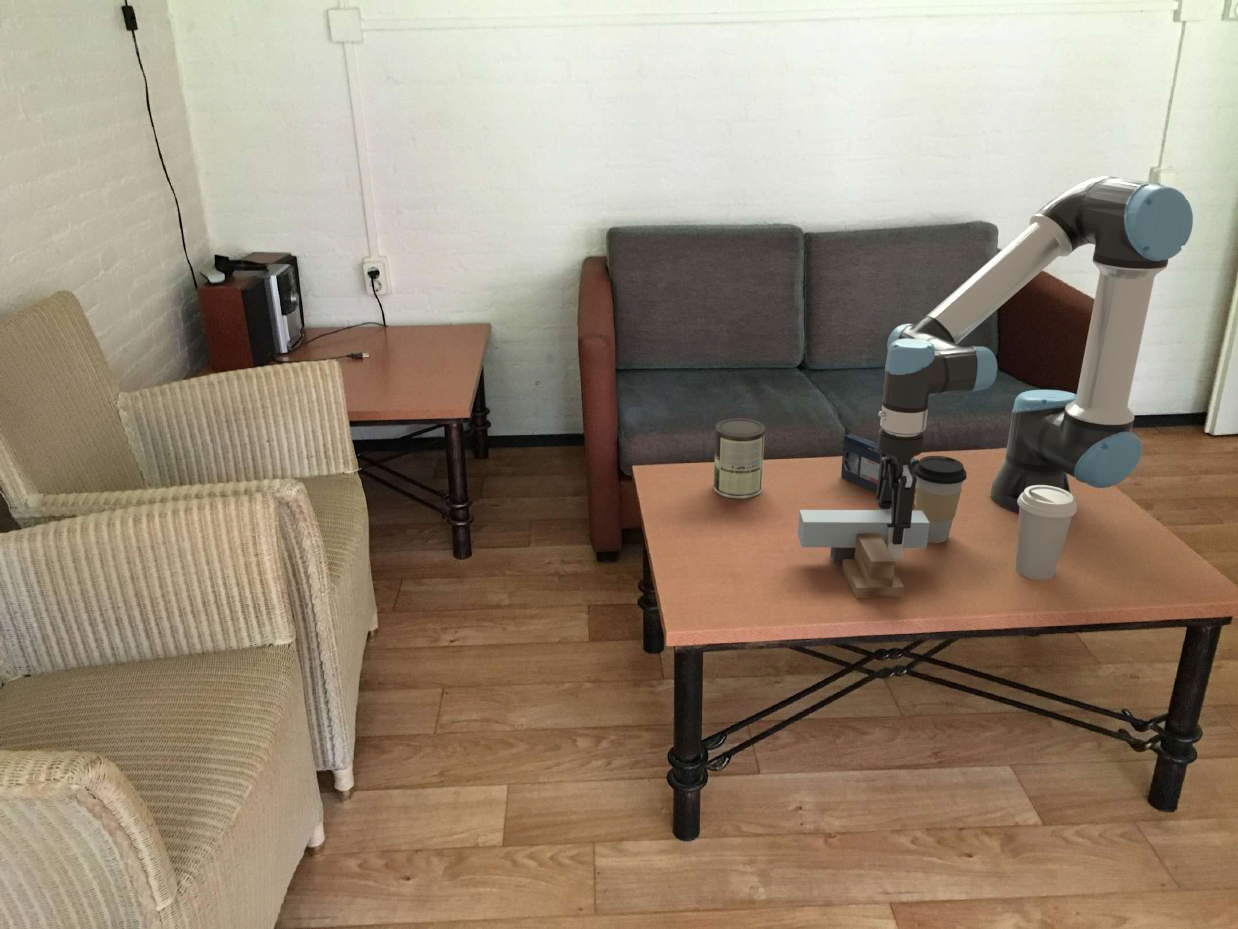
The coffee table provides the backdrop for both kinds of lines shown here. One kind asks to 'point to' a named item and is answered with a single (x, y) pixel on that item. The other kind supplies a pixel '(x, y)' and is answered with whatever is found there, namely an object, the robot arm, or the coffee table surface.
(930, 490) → the coffee cup
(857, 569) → the fulcrum
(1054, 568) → the coffee cup
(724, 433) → the coffee can
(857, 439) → the vhs cassette tape
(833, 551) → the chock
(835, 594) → the coffee table surface
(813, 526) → the beam
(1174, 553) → the coffee table surface
